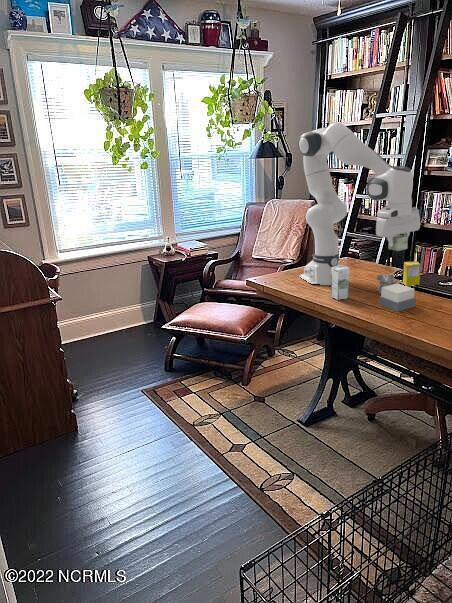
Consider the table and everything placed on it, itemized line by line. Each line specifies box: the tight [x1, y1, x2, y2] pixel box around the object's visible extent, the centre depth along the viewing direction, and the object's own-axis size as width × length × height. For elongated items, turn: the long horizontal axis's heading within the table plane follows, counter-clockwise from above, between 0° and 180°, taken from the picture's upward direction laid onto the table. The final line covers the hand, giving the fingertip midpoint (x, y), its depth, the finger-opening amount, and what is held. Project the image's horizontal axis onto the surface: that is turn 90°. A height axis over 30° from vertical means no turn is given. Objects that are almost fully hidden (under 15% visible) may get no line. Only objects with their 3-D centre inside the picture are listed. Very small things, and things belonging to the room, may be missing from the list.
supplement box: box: [402, 261, 422, 287], centre depth 208 cm, size 6×6×11 cm
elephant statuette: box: [376, 273, 398, 295], centre depth 204 cm, size 9×12×8 cm
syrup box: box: [330, 264, 350, 301], centre depth 199 cm, size 6×6×14 cm
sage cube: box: [387, 234, 409, 252], centre depth 179 cm, size 5×5×5 cm
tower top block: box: [380, 282, 415, 303], centre depth 187 cm, size 9×9×4 cm
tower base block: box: [378, 296, 417, 313], centre depth 188 cm, size 10×10×4 cm
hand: (397, 244), depth 179 cm, fingers closed on sage cube, 5 cm apart
